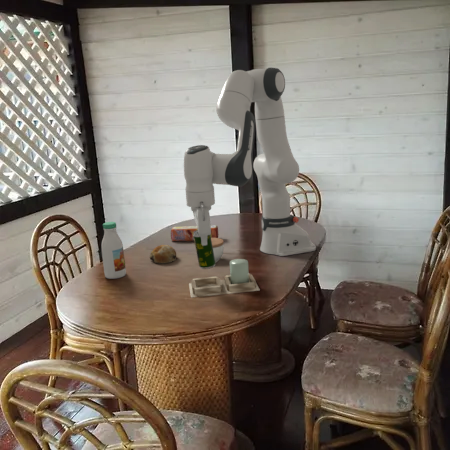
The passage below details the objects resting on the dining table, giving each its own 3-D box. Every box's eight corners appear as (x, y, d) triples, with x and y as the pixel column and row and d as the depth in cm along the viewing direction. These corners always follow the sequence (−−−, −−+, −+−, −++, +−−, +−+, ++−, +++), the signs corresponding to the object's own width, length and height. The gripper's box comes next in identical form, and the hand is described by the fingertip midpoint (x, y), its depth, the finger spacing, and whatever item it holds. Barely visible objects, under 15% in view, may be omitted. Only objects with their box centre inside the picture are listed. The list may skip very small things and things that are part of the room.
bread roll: (168, 273, 184) (175, 255, 182) (144, 262, 185) (151, 244, 183) (175, 264, 194) (182, 247, 191) (153, 254, 194) (159, 237, 192)
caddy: (253, 280, 162) (252, 271, 161) (260, 293, 151) (259, 284, 150) (189, 286, 160) (188, 277, 159) (191, 300, 148) (190, 291, 147)
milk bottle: (107, 281, 169) (101, 227, 164) (102, 274, 176) (96, 222, 171) (128, 276, 172) (122, 223, 167) (123, 270, 179) (117, 219, 174)
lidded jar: (229, 261, 183) (228, 237, 181) (205, 267, 178) (203, 243, 175) (216, 254, 192) (214, 232, 190) (192, 259, 187) (190, 237, 184)
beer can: (206, 262, 156) (200, 228, 153) (219, 264, 153) (212, 228, 150) (196, 268, 152) (189, 233, 149) (208, 270, 149) (202, 234, 146)
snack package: (170, 242, 212) (169, 228, 211) (174, 238, 219) (173, 224, 217) (217, 242, 209) (216, 227, 207) (219, 238, 215) (218, 223, 213)
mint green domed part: (247, 280, 159) (246, 258, 157) (250, 287, 153) (249, 264, 151) (229, 282, 158) (228, 259, 156) (232, 289, 152) (231, 265, 150)
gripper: (214, 205, 137) (217, 250, 141) (207, 192, 157) (210, 232, 160) (192, 206, 136) (195, 252, 140) (188, 193, 156) (191, 234, 160)
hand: (203, 241), depth 150 cm, fingers closed on beer can, 5 cm apart
